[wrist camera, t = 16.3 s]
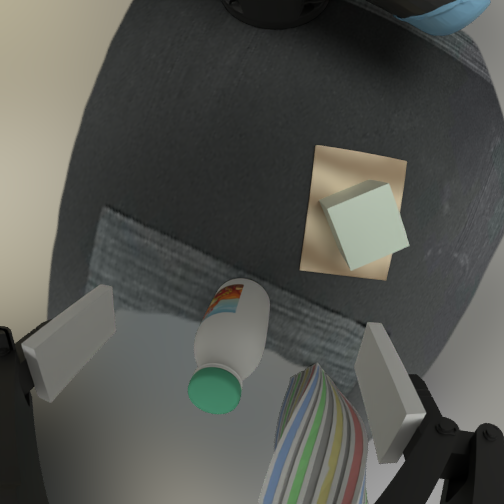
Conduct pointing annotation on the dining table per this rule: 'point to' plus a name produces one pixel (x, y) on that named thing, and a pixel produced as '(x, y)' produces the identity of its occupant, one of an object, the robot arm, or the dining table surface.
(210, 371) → the milk bottle
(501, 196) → the dining table surface
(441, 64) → the dining table surface
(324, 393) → the vase
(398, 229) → the pale green block
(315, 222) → the post base
